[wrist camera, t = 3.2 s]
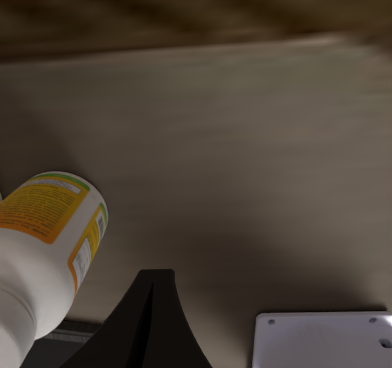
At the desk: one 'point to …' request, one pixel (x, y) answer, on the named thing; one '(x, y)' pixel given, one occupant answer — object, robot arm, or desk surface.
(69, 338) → the phone
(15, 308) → the supplement bottle
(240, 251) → the desk surface
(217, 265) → the desk surface
